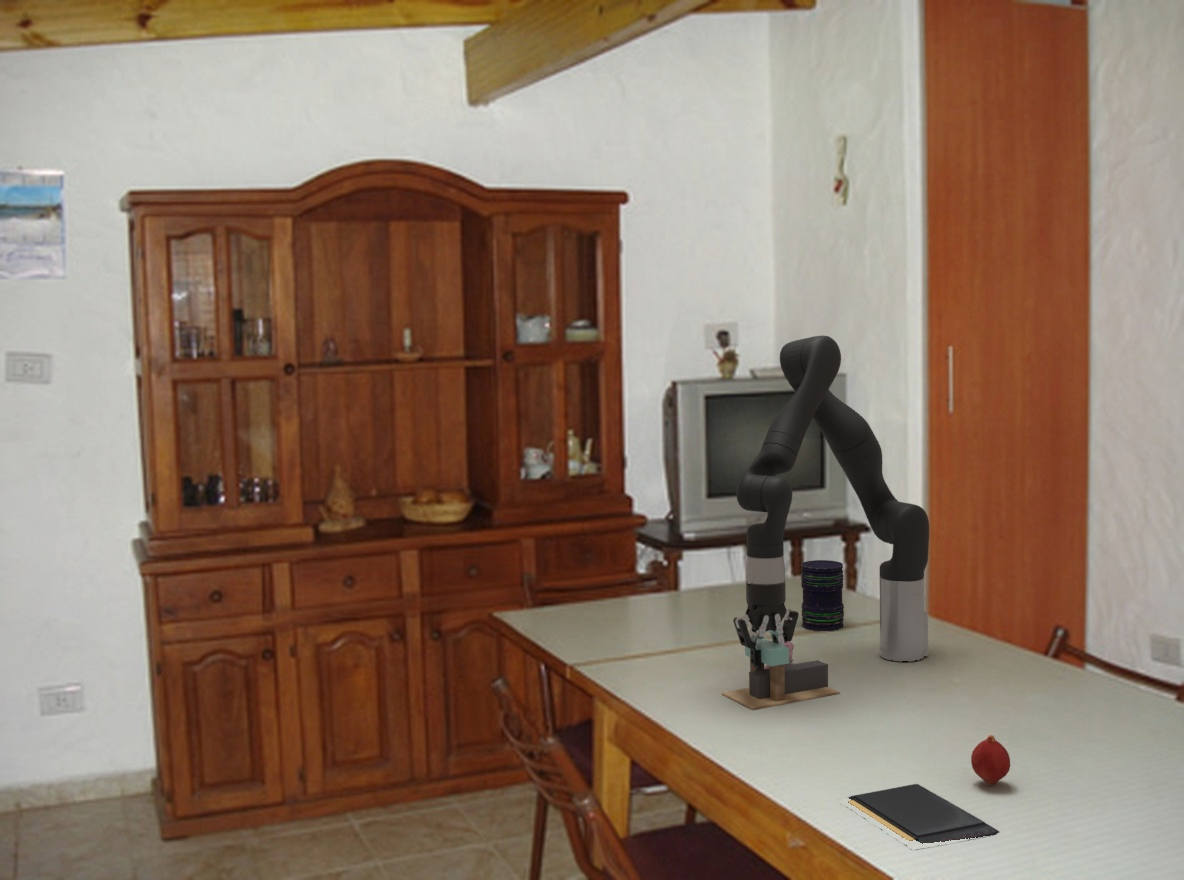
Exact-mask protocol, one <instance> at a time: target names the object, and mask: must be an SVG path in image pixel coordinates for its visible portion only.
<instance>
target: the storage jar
mask: <svg viewBox="0 0 1184 880" xmlns="http://www.w3.org/2000/svg"><path fill="white" fill-rule="evenodd" d="M800 565H801V574H800V580H801V582H800V585H801V588H802V603H801V620H802V624H801V627H802V629H805V630H807V631H811V630H813V632H820V631H829V632H835V631H834V630H837V631H840V630H839V629H841V628H842V629H844V627H843V626H844V617H845V611H844V610H845V605H844V603H843V589H844V585H845V584H844V580H845V579H844V576H845V575H844V570H843V569H844V563H842V562H840V561H837V560H836V561H835V560H829V559H826V560H825V559H822V560H821V559H820V560H819V559H816V560H815V559H814V560H807V561H803V562H802V563H801V564H800ZM842 629H841V630H842Z"/></svg>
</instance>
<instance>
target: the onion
mask: <svg viewBox="0 0 1184 880" xmlns="http://www.w3.org/2000/svg"><path fill="white" fill-rule="evenodd" d="M970 763H971V767H972V770H973V771H974V773H975V774H976V775H977V776H978V777H979V778H981V780H983V781H984V782H985V783H986V784H987V785H989V786H994V785H995V784H997V783H998V782H999V781H1001V780H1002V779H1003V778H1005V777H1006V776H1007V774H1008V773H1009V772H1010V769H1011V758H1010V755H1009V752H1008V751H1007V749H1006V748H1005V747H1004V745H1003V744H1002V743H1000V742H999V741H998V740H997V739H996V737H995V736H994V735H992V734H989V735H988V736H987V738H985V739H984V740H982V741H980V742H979V743H978V744H977V745H976V746H975V747H974V749H973V750H972V752H971V757H970Z"/></svg>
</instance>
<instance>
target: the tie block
mask: <svg viewBox="0 0 1184 880" xmlns="http://www.w3.org/2000/svg"><path fill="white" fill-rule="evenodd" d="M744 647H745V648H744V649H745V651H744V652H745V656H746V657H749V658H750V648H748V647H746V646H744ZM760 650H761V662H762V663H764V665H766V666H767V665H769V666H777V665H783V664H788V663H789V648H788V647H785V646H783V645H780V644H778V643H775V642H773V641H772V640H770V639H767V638H765V637H764V638H763V639H762V643H761V648H760ZM789 664H790V663H789ZM789 664H788V665H789Z"/></svg>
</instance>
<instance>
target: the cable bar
mask: <svg viewBox="0 0 1184 880" xmlns="http://www.w3.org/2000/svg"><path fill="white" fill-rule="evenodd" d="M784 667H785V694H791V693H796V692H802V691H807V690H813V689H818V688H824V687H829V664H828V663H825V662H823V661H820V660H818V659H817V660H811V661H806V662H805V661H804V662H799V663H792V664H788V665H786V666H784ZM748 675H749V676H748V677H749V678H748V683H749V684H748V688H749V695H751V696H754V697H756V698H758V699H764V698H769V697H770V668H769V669H765V668H764V669H763V670H757V671H751V672H750V671H749V672H748Z"/></svg>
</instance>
